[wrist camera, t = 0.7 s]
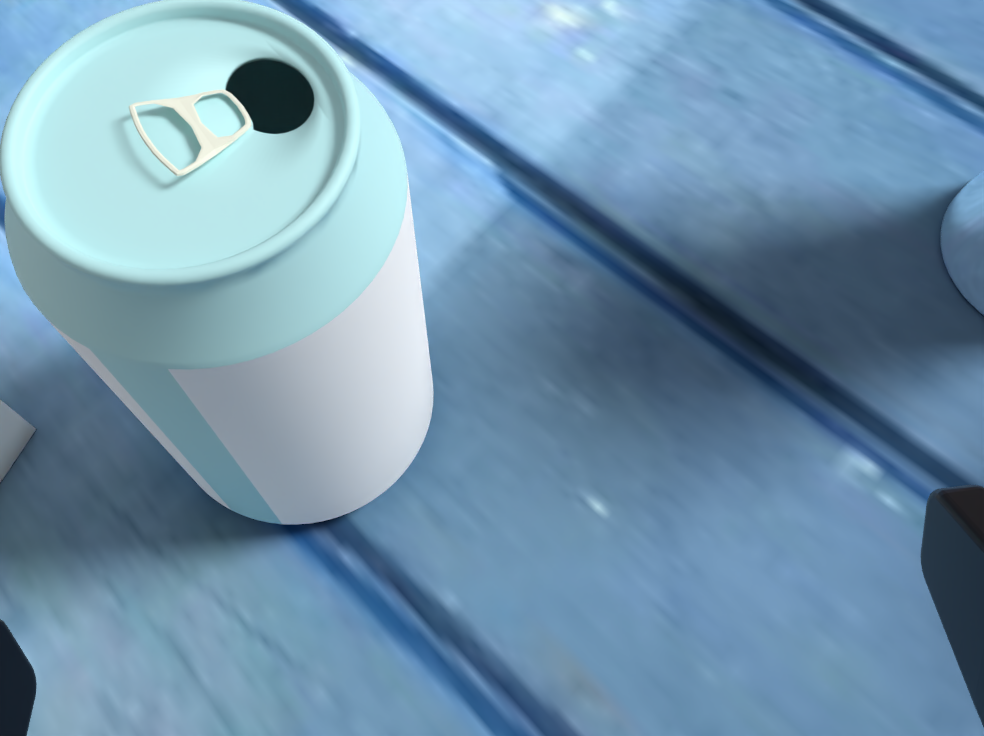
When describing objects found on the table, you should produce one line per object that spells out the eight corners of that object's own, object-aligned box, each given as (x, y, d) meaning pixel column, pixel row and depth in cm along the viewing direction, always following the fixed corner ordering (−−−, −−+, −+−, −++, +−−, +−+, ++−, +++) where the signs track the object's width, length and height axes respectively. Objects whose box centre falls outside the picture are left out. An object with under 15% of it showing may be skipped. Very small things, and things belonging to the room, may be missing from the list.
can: (242, 269, 28) (85, -73, 17) (467, 333, 27) (456, 17, 16) (135, 486, 25) (-137, 245, 14) (383, 565, 24) (300, 375, 13)
